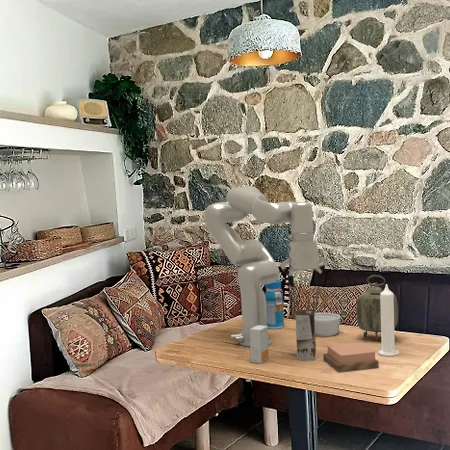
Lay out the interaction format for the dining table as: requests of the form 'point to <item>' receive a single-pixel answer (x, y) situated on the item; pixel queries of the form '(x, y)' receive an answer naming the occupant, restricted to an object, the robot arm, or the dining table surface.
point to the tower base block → (349, 367)
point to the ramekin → (326, 324)
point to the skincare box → (259, 344)
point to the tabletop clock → (372, 309)
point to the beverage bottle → (274, 305)
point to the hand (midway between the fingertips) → (304, 285)
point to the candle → (387, 323)
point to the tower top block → (351, 353)
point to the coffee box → (305, 335)
